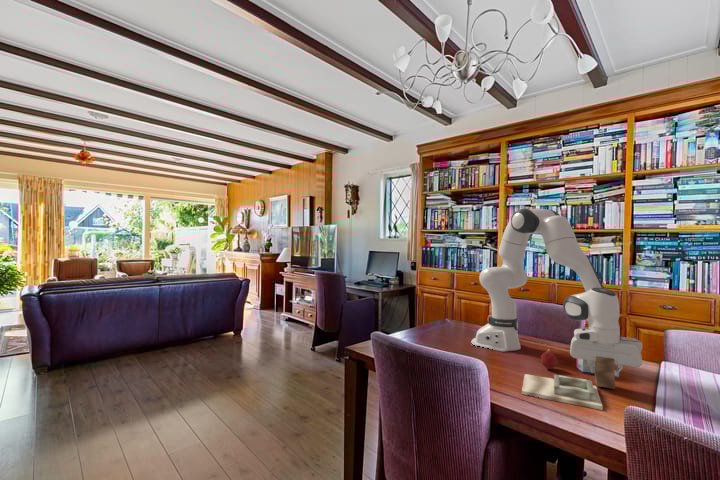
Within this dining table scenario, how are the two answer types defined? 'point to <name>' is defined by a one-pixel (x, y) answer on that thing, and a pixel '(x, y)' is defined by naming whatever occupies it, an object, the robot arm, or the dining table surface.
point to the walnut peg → (605, 372)
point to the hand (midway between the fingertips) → (604, 374)
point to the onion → (549, 359)
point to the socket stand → (563, 390)
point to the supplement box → (584, 366)
